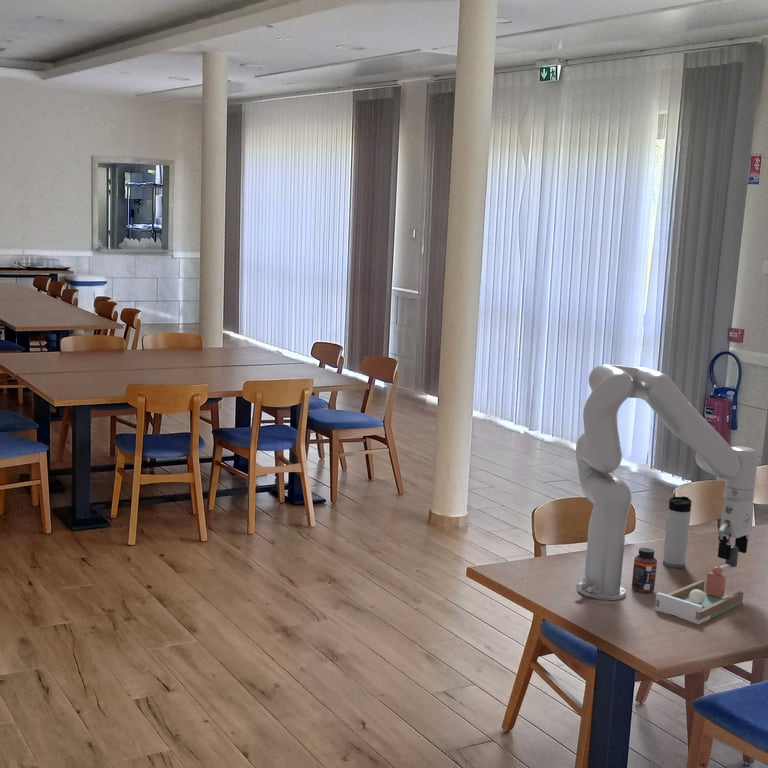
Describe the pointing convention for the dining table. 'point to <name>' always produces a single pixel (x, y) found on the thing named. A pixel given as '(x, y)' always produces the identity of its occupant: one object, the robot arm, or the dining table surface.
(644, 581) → the supplement bottle
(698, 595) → the ball
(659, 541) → the dining table surface
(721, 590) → the kicker rod
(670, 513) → the travel mug
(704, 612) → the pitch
